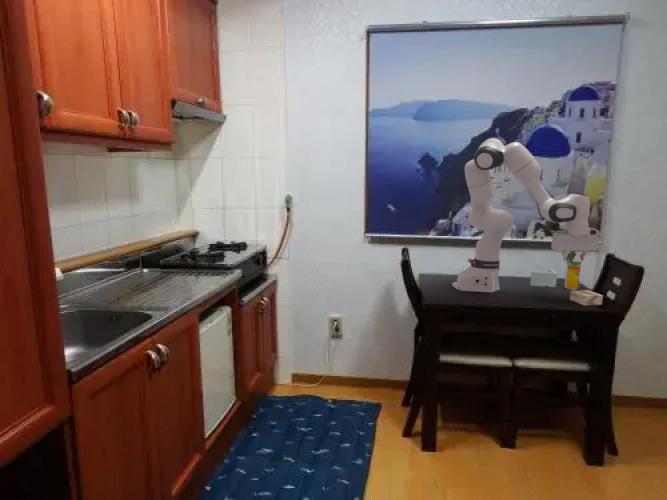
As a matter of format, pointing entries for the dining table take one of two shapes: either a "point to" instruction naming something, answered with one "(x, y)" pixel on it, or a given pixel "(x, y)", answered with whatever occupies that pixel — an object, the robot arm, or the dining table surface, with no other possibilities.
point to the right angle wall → (544, 278)
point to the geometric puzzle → (574, 258)
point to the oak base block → (586, 297)
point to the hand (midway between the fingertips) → (573, 260)
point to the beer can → (572, 276)
